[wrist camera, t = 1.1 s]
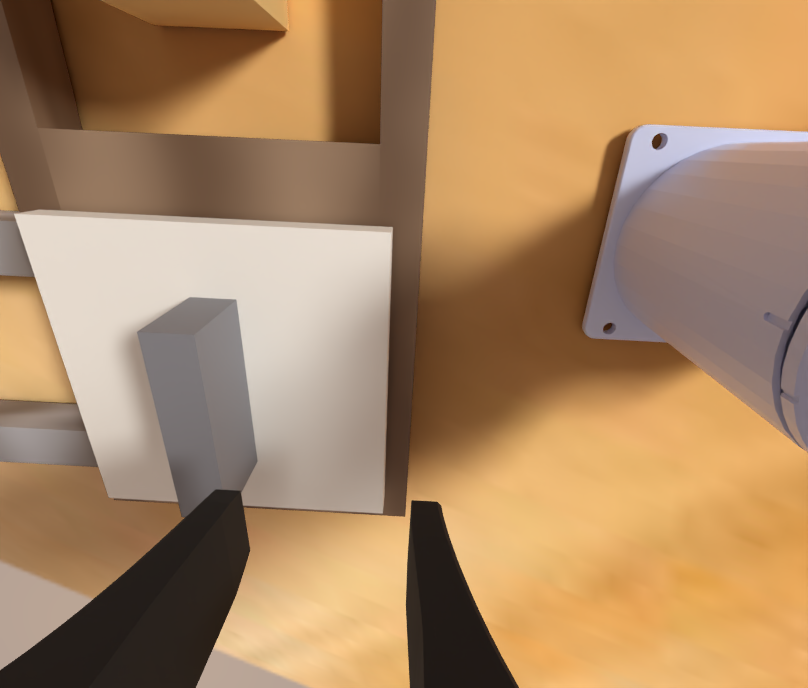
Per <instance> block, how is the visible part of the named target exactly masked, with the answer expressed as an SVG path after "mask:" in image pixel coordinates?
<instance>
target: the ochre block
mask: <svg viewBox="0 0 808 688" xmlns="http://www.w3.org/2000/svg"><path fill="white" fill-rule="evenodd" d="M100 1H102V2H104V3H107V4H109V5H111V6H113V7H115V8H117V9H120V10H122V11H124V12H126V13H128V14H131V15H133V16H135V17H137V18H139V19H141V20H144V21H146V22H148V23H150V24H152V25H160V26H183V27H205V28H228V29H251V30H273V31H289V22H288V5H287V0H100Z"/></svg>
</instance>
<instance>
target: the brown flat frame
mask: <svg viewBox="0 0 808 688" xmlns="http://www.w3.org/2000/svg"><path fill="white" fill-rule="evenodd" d="M435 10H436V0H383V5H382V63H381V121H380V144H366V143H344V142H323V141H302V140H281V139H260V138H239V137H218V136H197V135H175V134H154V133H133V132H112V131H91V130H82V127H81V123H80V119H79V114H78V110H77V106H76V102H75V98H74V94H73V90H72V86H71V82H70V78H69V74H68V70H67V66H66V62H65V58H64V54H63V50H62V46H61V42H60V38H59V34H58V30H57V26H56V22H55V18H54V14H53V10H52V6H51V2H50V0H0V154H1V157H2V160H3V163H4V166H5V169H6V172H7V175H8V178H9V181H10V184H11V187H12V191H13V194H14V197H15V200H16V203H17V206H18V209H19V211H3V210H0V275H7V276H27V277H35V275H34V272H33V269H32V266H31V263H30V260H29V257H28V254H27V251H26V248H25V245H24V242H23V239H22V236H21V233H20V230H19V227H18V224H17V221H16V218H15V215H14V214H16V213H22V212H28V211H34V210H59V211H79V212H99V213H119V214H139V215H160V216H180V217H200V218H220V219H240V220H260V221H281V222H301V223H321V224H341V225H361V226H382V227H393V236H392V269H391V301H390V333H389V365H388V397H387V430H386V462H385V494H384V506H383V514H382V513H364V512H347V511H330V510H312V509H295V508H277V507H260V506H243V507H247V508H265V509H282V510H300V511H317V512H334V513H352V514H369V515H387V516H404V517H405V510H406V493H407V477H408V460H409V443H410V427H411V410H412V393H413V377H414V360H415V343H416V327H417V310H418V293H419V277H420V260H421V243H422V227H423V210H424V193H425V177H426V160H427V143H428V127H429V110H430V93H431V77H432V60H433V43H434V27H435ZM0 461H1V462H19V463H37V464H54V465H72V466H90V467H98V464H97V461H96V458H95V455H94V452H93V449H92V446H91V443H90V440H89V437H88V434H87V431H86V428H85V425H84V422H83V419H82V416H81V413H80V410H79V407H78V404H66V403H47V402H29V401H11V400H0ZM114 500H125V501H143V502H160V503H178V502H172V501H155V500H138V499H120V498H114ZM178 504H179V503H178Z"/></svg>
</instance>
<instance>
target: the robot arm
mask: <svg viewBox="0 0 808 688" xmlns="http://www.w3.org/2000/svg"><path fill="white" fill-rule="evenodd" d="M657 134H660V135H661V137H662V142H661V144H660V146H659V147H658V148H657V149H654V148H653V147H652V140H653V138H654V136H656V135H657ZM607 323H612V326H611V328H610V329H609V330H606V331H603V327H604V325H606V324H607ZM582 329H583V331H584V333H585V334H586V335H587V336H588V337H590V338H594V339H612V340H631V341H650V342H667V343H669V344H670V345H671V346H673V347H674V348H675V349H676V350H678V351H679V352H680V353H681V354H683V355H684V356H685V357H686V358H688V359H689V360H690V361H692V362H693V363H694V364H695V365H697V366H698V367H699V368H700V369H702V370H703V371H704V372H705V373H707V374H708V375H709V376H711V377H712V378H713V379H714V380H716V381H717V382H718V383H719V384H721V385H722V386H723V387H724V388H726V389H727V390H728V391H730V392H731V393H732V394H733V395H735V396H736V397H737V398H738V399H740V400H741V401H742V402H743V403H745V404H746V405H747V406H749V407H750V408H751V409H752V410H754V411H755V412H756V413H757V414H759V415H760V416H761V417H762V418H764V419H765V420H766V421H768V422H769V423H770V424H771V425H773V426H774V427H775V428H776V429H778V430H779V431H780V432H781V433H783V434H784V435H785V436H787V437H788V438H789V439H790V440H792V441H793V442H794V443H795V444H797V445H798V446H799V447H801V448H802V449H804V450H805V451H806V452H807V453H808V132H800V131H778V130H757V129H735V128H714V127H692V126H671V125H649V124H648V125H641V126H637V127H636V128H634V129H633V130H632V131H631V132H630V133H629V135H628V137H627V139H626V143H625V147H624V151H623V155H622V160H621V164H620V168H619V172H618V176H617V181H616V185H615V189H614V193H613V197H612V201H611V206H610V210H609V214H608V218H607V222H606V227H605V231H604V235H603V239H602V243H601V248H600V252H599V256H598V260H597V264H596V269H595V273H594V277H593V281H592V285H591V290H590V294H589V298H588V302H587V306H586V311H585V315H584V319H583V323H582ZM249 552H250V546H249V540H248V534H247V527H246V521H245V515H244V508H243V502H242V496H241V491H238V490H220V489H215V490H214V491H213V492H212V493H211V494H210V495H209V496H208V497H206V498H205V499H204V500H203V501H202V502H201V503H200V504H199V505H198V506H197V507H196V508H195V509H194V510H193V511H192V512H191V513H190V514H188V515H187V516H186V517H185V518H184V519H183V520H182V521H181V522H180V523H179V524H178V525H177V526H176V527H175V528H174V529H173V530H171V531H170V532H169V533H168V534H167V535H166V536H165V537H164V538H163V539H162V540H161V541H160V542H158V543H157V544H156V545H155V546H154V547H153V548H152V549H151V550H150V551H149V552H147V553H146V554H145V555H144V556H143V557H142V558H141V559H140V560H139V561H137V562H136V563H135V564H134V565H133V566H132V567H131V568H130V569H129V570H127V571H126V572H125V573H124V574H123V575H122V576H120V577H119V578H118V579H117V580H116V581H114V582H113V583H112V584H111V585H110V586H109V587H107V588H106V589H105V590H104V591H103V592H101V593H100V594H99V595H98V596H97V597H95V598H94V599H93V600H92V601H91V602H90V603H88V604H87V605H86V606H85V607H83V608H82V609H81V610H80V611H79V612H77V613H76V614H75V615H73V616H72V617H71V618H70V619H69V620H67V621H66V622H65V623H64V624H62V625H61V626H60V627H58V628H57V629H56V630H54V631H53V632H52V633H50V634H49V635H48V636H47V637H45V638H44V639H42V640H41V641H40V642H39V643H37V644H36V645H35V646H33V647H32V648H31V649H29V650H28V651H27V652H25V653H24V654H22V655H21V656H20V657H18V658H17V659H15V660H14V661H13V662H11V663H10V664H8V665H7V666H6V667H4V668H3V669H1V670H0V688H196V686H197V683H198V681H199V679H200V677H201V674H202V672H203V670H204V667H205V665H206V663H207V660H208V658H209V656H210V654H211V652H212V649H213V647H214V645H215V643H216V640H217V638H218V636H219V634H220V631H221V629H222V627H223V624H224V622H225V620H226V617H227V615H228V613H229V611H230V608H231V606H232V604H233V601H234V599H235V596H236V594H237V591H238V588H239V585H240V582H241V579H242V575H243V572H244V569H245V566H246V562H247V559H248V556H249ZM406 616H407V637H408V657H409V677H410V688H519V687H518V685H517V683H516V682H515V680H514V678H513V676H512V674H511V672H510V671H509V669H508V667H507V665H506V663H505V662H504V660H503V658H502V656H501V654H500V652H499V650H498V648H497V646H496V644H495V642H494V640H493V638H492V637H491V635H490V633H489V630H488V628H487V626H486V624H485V622H484V620H483V618H482V616H481V614H480V612H479V610H478V607H477V605H476V603H475V601H474V599H473V596H472V594H471V592H470V589H469V587H468V585H467V582H466V580H465V577H464V575H463V573H462V570H461V568H460V565H459V563H458V560H457V557H456V555H455V552H454V549H453V546H452V543H451V540H450V538H449V534H448V531H447V528H446V524H445V521H444V517H443V513H442V508H441V505H440V504H439V503H438V502H431V501H413V500H412V502H411V517H410V531H409V546H408V562H407V591H406Z"/></svg>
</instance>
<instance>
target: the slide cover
mask: <svg viewBox="0 0 808 688" xmlns="http://www.w3.org/2000/svg"><path fill="white" fill-rule="evenodd" d="M14 215H15V218H16V221H17V224H18V227H19V230H20V233H21V236H22V239H23V242H24V245H25V248H26V251H27V254H28V257H29V260H30V263H31V266H32V269H33V272H34V275H35V278H36V281H37V284H38V287H39V290H40V293H41V296H42V299H43V302H44V305H45V308H46V311H47V314H48V317H49V320H50V323H51V326H52V329H53V332H54V335H55V338H56V341H57V344H58V347H59V350H60V353H61V356H62V359H63V362H64V365H65V368H66V371H67V374H68V377H69V380H70V383H71V386H72V389H73V392H74V395H75V398H76V401H77V404H78V407H79V410H80V413H81V416H82V419H83V422H84V425H85V428H86V431H87V434H88V437H89V440H90V443H91V446H92V449H93V452H94V455H95V458H96V461H97V464H98V467H99V470H100V473H101V476H102V479H103V482H104V485H105V488H106V491H107V494H108V497H109V498H120V499H138V500H155V501H172V502H178V503H179V507H180V511H181V516H182V517H186V516H187V515H188V514H190V513H191V512H192V511H193V510H194V509H195V508H196V507H197V506H198V505H199V504H200V503H201V502H202V501H203V500H204V499H205V498H206V497H208V496H209V495H210V494H211V493H212V492H213V491H214V490H215V489H220V490H238V491H241V496H242V502H243V506H260V507H277V508H295V509H312V510H330V511H347V512H364V513H382V514H383V506H384V494H385V462H386V430H387V397H388V365H389V333H390V301H391V269H392V236H393V227H382V226H361V225H341V224H321V223H301V222H281V221H260V220H240V219H220V218H200V217H180V216H160V215H139V214H119V213H99V212H79V211H59V210H34V211H28V212H22V213H16V214H14Z"/></svg>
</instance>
